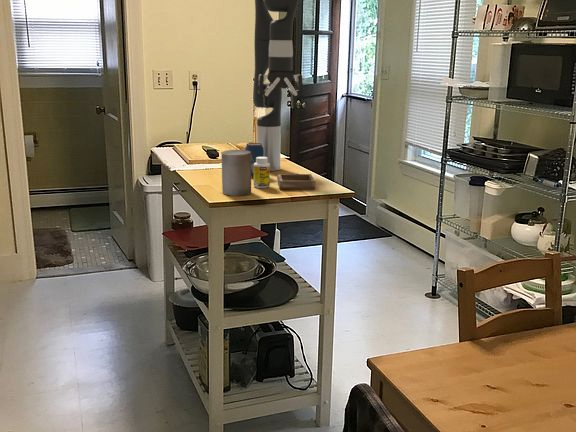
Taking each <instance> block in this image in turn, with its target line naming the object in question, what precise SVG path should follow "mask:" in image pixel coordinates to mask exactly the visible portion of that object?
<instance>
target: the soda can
mask: <svg viewBox="0 0 576 432" xmlns="http://www.w3.org/2000/svg"><path fill="white" fill-rule="evenodd" d="M244 150H247V151H250V152H251V178H254V163H256V157H264V149H263V146H262V144H261V143H257V142H248V143H246V146H245V148H244Z"/></svg>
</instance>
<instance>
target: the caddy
mask: <svg viewBox="0 0 576 432" xmlns="http://www.w3.org/2000/svg"><path fill="white" fill-rule="evenodd" d="M277 186H278V187H279V191H300V190H301V191H306V190H307V191H315V190H316V180H315V178H314V177H313V175H312V174H311V173H308V174H307V173H306V174H305V173H303V174H302V173H301V174H299V173H298V174H297V173H296V174H295V173H287V174H286V173H285V174H284V173H280V174H279V173H277Z"/></svg>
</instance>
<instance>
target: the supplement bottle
mask: <svg viewBox="0 0 576 432" xmlns="http://www.w3.org/2000/svg"><path fill="white" fill-rule="evenodd" d="M267 162H268V158H267V157H256V163H254V177H253V187H254V188H256V189H266V188H269V187H270V185H271V184H270V181H271V178H270V177H271V176H270V174H271V171H270V164H269V163H267Z"/></svg>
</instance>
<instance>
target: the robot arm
mask: <svg viewBox="0 0 576 432" xmlns="http://www.w3.org/2000/svg"><path fill="white" fill-rule="evenodd" d="M299 1H300V0H254V6H255V8H254V10H255V13H254V16H255V17H254V19H255V20H254V46H253V47H254V75H253V77H254V78H253V90H252V91H253V92H252V93H253V94H252V100H253V106H255V107H256V108H258V109H259V108H260V109H261V108H262V109H272V110H271V111H270V112H269V113H267V114H265V115H263V116H259V117H258V118H257V119H256V143H261V144H262V146H263V149H264V157H267V158H268V162H267V163H269V164H270V172H274V171H280V170H281V142H282V141H281V134H282V133H281V129H282V128H281V127H282V126H281V125H282V122H281V120H282V119H281V116H282V115H281V113H282V100H283V99H282V97H283V92H282V91H283V90H282V89H287V90H288V91H289V92H290V94H291V95H290V106H291V107H290V108H293V109H294V108H295V107H296V106H297V104H298V102H297V101H298V95H301V94H303V93H304V87H303V86H304V83H303V75H302V74H300V73H297V74H294V73H293V65H294V64H293V63H294V62H293V61H294V60H293V59H294V57H293V56H294V51H293V50H294V47H293V46H294V45H293V26H294V20H295V19H294V18H295V16H296V12H297V9H298V5H299ZM269 12H273V13H274V12H275V13H279V12H280V13H286V14H285V16H284V17H283V18H280V19H274V18H273V17H272V16H271V13H269ZM267 72H268V73H267ZM266 73H267V74H266ZM266 80H268V83H267V82H266ZM293 81H295V82H296V89H295V87H294V86H293V84H292V82H293ZM265 82H266V83H265Z"/></svg>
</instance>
